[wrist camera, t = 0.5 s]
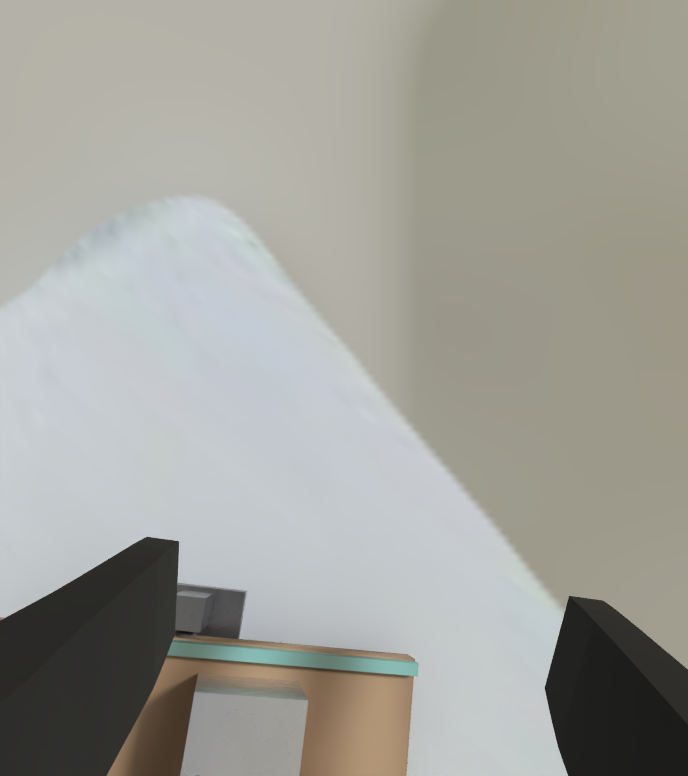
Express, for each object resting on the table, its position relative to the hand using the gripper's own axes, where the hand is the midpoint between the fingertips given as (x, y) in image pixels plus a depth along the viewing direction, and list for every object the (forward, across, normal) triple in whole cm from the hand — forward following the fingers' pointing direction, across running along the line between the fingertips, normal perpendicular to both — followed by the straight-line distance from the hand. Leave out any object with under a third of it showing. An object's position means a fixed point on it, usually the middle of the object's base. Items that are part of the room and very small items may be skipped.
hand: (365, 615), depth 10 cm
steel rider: (+13, +4, +17) cm, 22 cm away
